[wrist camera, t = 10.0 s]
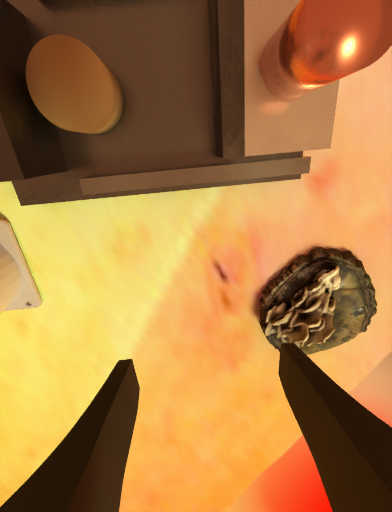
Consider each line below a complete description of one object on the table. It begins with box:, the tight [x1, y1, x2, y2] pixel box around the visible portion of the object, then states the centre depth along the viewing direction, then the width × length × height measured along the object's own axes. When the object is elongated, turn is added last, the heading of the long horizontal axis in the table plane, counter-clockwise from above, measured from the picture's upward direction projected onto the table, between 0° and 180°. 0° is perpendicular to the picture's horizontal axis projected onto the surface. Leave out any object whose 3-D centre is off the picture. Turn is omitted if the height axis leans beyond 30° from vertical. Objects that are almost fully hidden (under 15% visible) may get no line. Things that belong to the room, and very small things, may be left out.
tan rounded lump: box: [26, 35, 123, 134], centre depth 13 cm, size 4×4×3 cm
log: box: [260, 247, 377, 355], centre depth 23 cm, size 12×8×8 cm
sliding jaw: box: [209, 0, 392, 159], centre depth 11 cm, size 6×8×8 cm
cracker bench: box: [0, 0, 311, 206], centre depth 13 cm, size 20×12×6 cm, turn 95°
